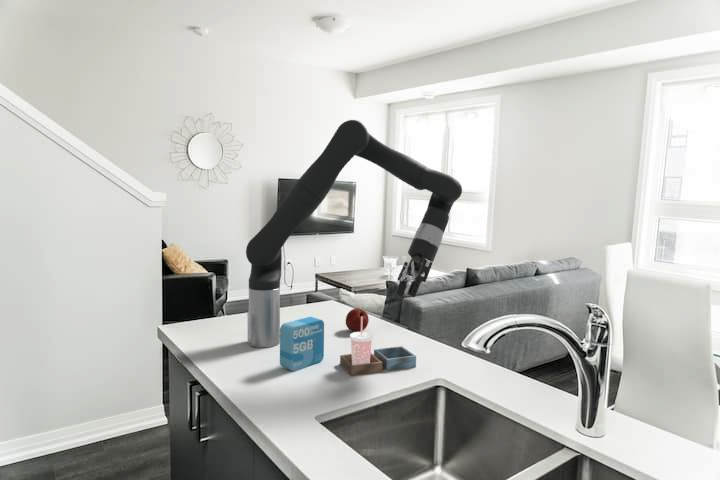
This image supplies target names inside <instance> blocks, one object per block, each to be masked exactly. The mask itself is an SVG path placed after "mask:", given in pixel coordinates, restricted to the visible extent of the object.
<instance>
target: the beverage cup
mask: <svg viewBox="0 0 720 480" xmlns="http://www.w3.org/2000/svg"><path fill="white" fill-rule="evenodd" d="M362 329H363V316H361V332H352V333H350V334H349V339H350V347H351V348H350V349H351V351H350V352H351V353H350V354H352V365H358V364H366V363H370V355H371V353H372V341H373V340H374V339H373V338H374V334H372V333H371V332H367V331H362Z"/></svg>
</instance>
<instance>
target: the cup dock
mask: <svg viewBox="0 0 720 480" xmlns="http://www.w3.org/2000/svg"><path fill="white" fill-rule="evenodd" d="M339 356H340V357H339V358H340V359H339V361H340V362H339V364H340V366H341V367H342V368H343V369H344V370H345V371H346V372H347V373H348V374H349V375H350V376H351V377H352V376H360V375H366V374H367V375H368V374H373V373H381V372H383V369H384V370H385V371H387V372H389V371H395V370H402V369H410V368H416V367H417V355H415V354H414V353H412V352H411V351H410V350H408V349H407V348H405V347H403V346H391V347H384V348H383V347H382V348H375V349H373V353H372V352H371V355H370V363H366V364H358V365H352V353H348V354H341V355H339Z"/></svg>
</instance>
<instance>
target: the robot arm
mask: <svg viewBox="0 0 720 480" xmlns="http://www.w3.org/2000/svg"><path fill="white" fill-rule="evenodd" d="M355 156H356V157H359V158H361V159H364V160H366V161H368V162H371V163H372V164H375V165H376V166H378V167H380V168H382V169H383V170H384V171H386V172H388V173H390V174H391V175H393V176H394V177H395V178H397V179H399V180H401V181H402V182H404V183H405V184H407V185H408V186H410V187H412V188H414V189H416V190H418V191H425V190H426V191H429V192H431V195H430V198H429V202H428V205H427V208H426V211H425V212H424V215H423V217H422V220H421V222H420V224H419V225H418V228H417V230H416V231H415V234H414V237H413V238H412V240H411V244H410V246H409V248H408V249H407V250H408V251H407V253H408V254H407V255H408V256H409V257H410V258H411V259H410V261H405V262H404V263H403V265H402V267H401V270H400V272H399V274H398V276H397V281H398V282H399V283H398V285H397V288H396V290H395V293H394V294H395V296H397V297H399V298H402V297H403V296H404V294H405V292H406V289H407V287H408V285H409V283H410V282H411V283H410V285H409V288H408V289H407V292H406V294H407V295H408V296H410V297H411V298H415V297H416V295H417V294H418V290H419V288H420V286H421V285H423V283H426V281H427V280H428V276H429V273H430V271H431V269H432V265H433V262H434V261H435V258H436V256H437V253H438V251H439V248H440V246H441V244H442V240H443V236H444V233H445V231H446V228H447V226H448V224H449V221H450V215H449V214H450V211H451V210H452V207H453V205H454V204H455V202H456V201H457V200H458V199H459V198H461V195H462V192H463V188H462V184H461V183H460V181H458V179H456V178H455V177H453V176H451V175H450V174H448V173H444V172H441V171H439V170H435V169H432V168H429V167H428V166H426V165H425V164H423V163H421V162H419V161H418V160H417V159H414V158H412V157H411V156H409V155H406V154H404V153H402V152H400V151H398V150H395V149H394V148H391V147H389V146H388V145H386V144H384V143H382V142H381V141H379V140H378V139H376V138H375V137H374V136H373V135H372V134H371V133H369V132H368V129H367V128H366V126H365V125H364V124H363V122H362V121H360V120H356V119H348V120H346V121H344V122H342V123H341V124H340V125H339V126H338V127H337V129H336V130H335V132H334V134H333V136H332V137H331V139H330V141H329V142H328V144H327V145H326V147H324V150H323V151H322V153H321V154H320V155H319V156H318V157H317V158H316V160H315V161H313V163H312V164H311V165H310V166H309V167H308V169H306V170H305V172H304V173H303V174H302V175H301V176H300V177H299V179H297V181H296V183H295V184H294V185H293V186H292V187H291V188H290V190H289V192H288V193H286V196H285V197H284V199H283V200H282V201H281V203H280V204H279V206H278V207H277V209H276V211H275V212H274V214H273V215H272V216H271V217H270V219H269V220H268V221H267V223H266V224H265V225H264V226H263V227H262V228H261V229H260V230H259V231H258V232H257V233H256V234H255V235H254V237H252V238H251V239H250V240H248V241H249V242H248V243H247V245H246V248H245V255H246V256H245V257H246V259H247V261H248V262H249V263H250V264H251V268H250V269H251V270H250V273H249V274H250V275H249V277H248V278H249V279H248V310H247V342H249V343H248V345H249V346H250V347H251V346H256V347H255V348H270V347H275V346H277V345H280V327H281V323H280V322H281V313H280V312H281V309H280V307H281V298H280V297H281V295H280V294H281V279H282V278H281V277H282V261H283V259H282V258H283V256H282V255H283V253H282V252H283V251H282V247H283V246H284V244H286V242H287V240H288V239H289V238H290V236H291V235H292V234H293V233H294V232H295V231H296V230H297V229H298V228H299V227H300V226H301V225H303V223H305V222H306V220H308V219H309V218H310V217H311V216H312V215H313V213H314V212H315V211H316V210H317V209H318V208H319V206H320V205H321V204H322V203H323V201H324V200H325V199H326V197H327V196H328V194H329V192H330V191H331V189H332V187H333V185H334V184H335V182H336V180H337V178H338V177H339V175H340V173H341V172H342V170H343V169H344V168H345V166H347V164H348V163H349V162H350V161H351V159H353V158H355Z"/></svg>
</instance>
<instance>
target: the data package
mask: <svg viewBox="0 0 720 480" xmlns="http://www.w3.org/2000/svg"><path fill="white" fill-rule="evenodd" d="M324 353H325V322H324V320H322V319H319V318H316V317H312V316H308V317H304V318H299V319H296V320H291V321H288V322H287V321H286V322H284V323H283V324H280V343H279V365H280V366H281V367H283V368H284V369H286V370H289V371H292V372H296V371H299V370H301V369H305V368H307V367H310V366H313V365H316V364H319V363H321V362H322V361H323V359H324V356H325V354H324Z"/></svg>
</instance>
